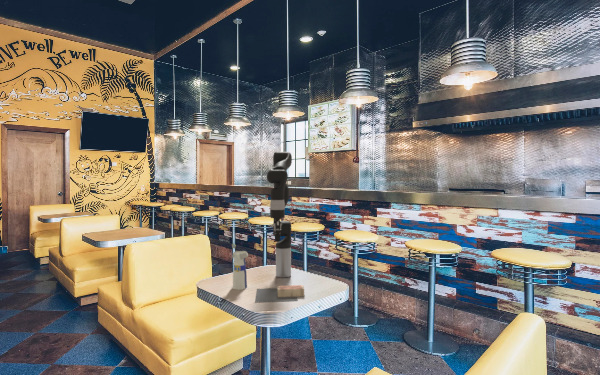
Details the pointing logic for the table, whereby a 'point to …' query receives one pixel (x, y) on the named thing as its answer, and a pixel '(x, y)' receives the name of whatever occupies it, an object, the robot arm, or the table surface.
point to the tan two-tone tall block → (290, 291)
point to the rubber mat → (271, 296)
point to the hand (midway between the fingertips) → (277, 239)
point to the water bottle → (239, 269)
